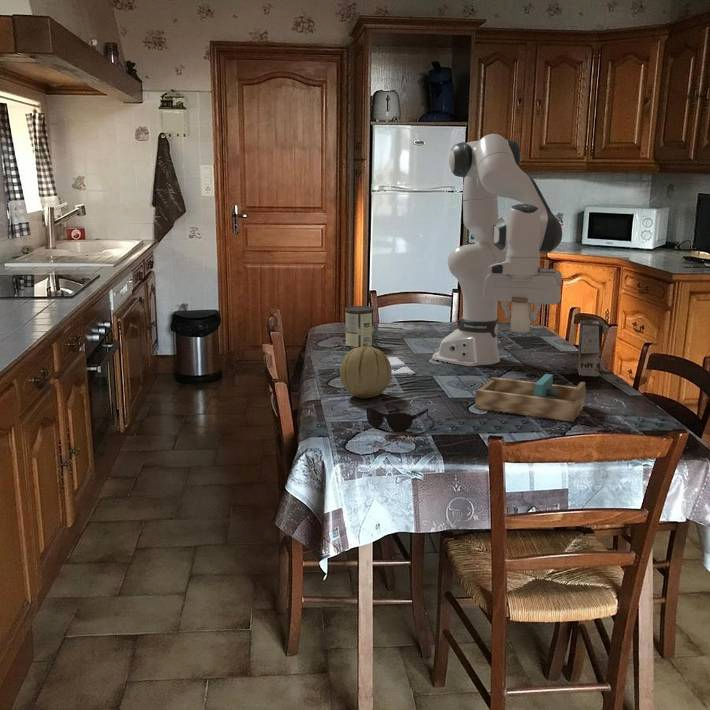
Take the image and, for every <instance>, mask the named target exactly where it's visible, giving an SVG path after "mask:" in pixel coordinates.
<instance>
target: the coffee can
mask: <svg viewBox="0 0 710 710" xmlns="http://www.w3.org/2000/svg"><path fill="white" fill-rule="evenodd" d="M374 310H375V309H374V307H372V306H365V305H354V306H347V307H345V309H344V311H345V346H346V345H348V346H353V347H365V346H363V343H365V344H367V345H368V346H372V345H373V344H374V342H375V341H374V336H375V335H374Z"/></svg>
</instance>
